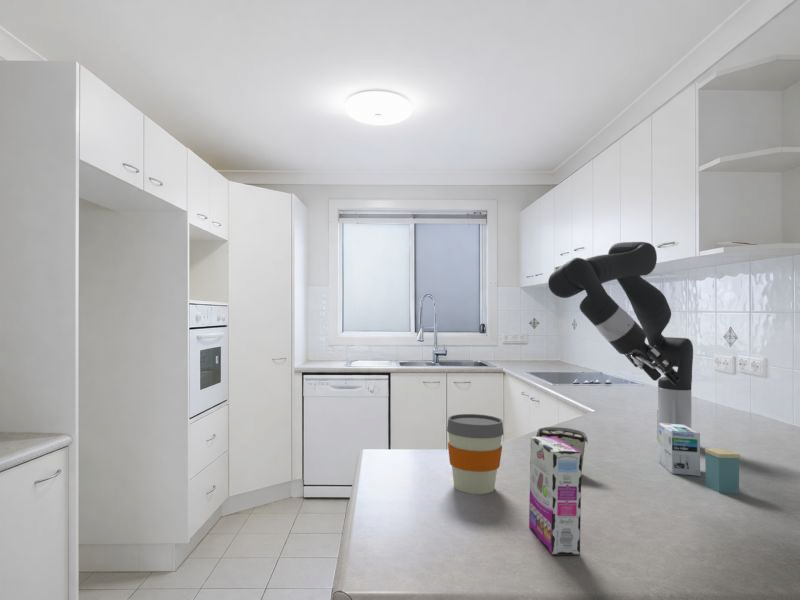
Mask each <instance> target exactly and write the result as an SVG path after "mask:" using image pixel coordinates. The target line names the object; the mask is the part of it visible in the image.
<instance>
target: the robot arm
mask: <svg viewBox="0 0 800 600" xmlns="http://www.w3.org/2000/svg"><path fill="white" fill-rule="evenodd" d="M657 256H658V255H657V250H656V248H655V246H654V245H652V244H651V243H649V242H647V241H628V242H627V241H626V242H625V241H624V242H617V243H614V244H612V245H611V246H610V247H609V250H608V253H607V254H601V255H599V254H598V255H595V256H590V257H587V258H585V259H584V258H581V257H573V258H571V259H570V260H568V261H567V262H565V263H564V264H563V265H561V266H559V267H558V268H557V269H556V270H554V271H553V272H552V273H551V274H550V275H549V277H548V282H547V283H548V288H549V291H550V292H551V293H552V294H553V296H556V297H558V298H561V299H567V298H572V297H573V296H575V295H577V294H579V293H581V292H583V291H585V292H586V296H585V297H584V298H583V299H582V300H581V302H580V303H579V310H580V312H582V314H583V315H584V316H585V317H586V319H588V321H589V322H590V323H592V325H593V326H594V327H595V328H596V330H597V331H598V332H599V333H600V335H601V336H602V337H603V338H604V339H605V340H606V341H607V342H608V343H609V344H610V345H611V346H612V348H613V349H615V350H616V352H617V353H618V354H620V355H624V356H625V357H626V359H627V360H629V362H630V363H631V364H632V365H633V367H635V368H639V369H640V370H641V371H644V372H645V373H646V374H647V376H648V377H649V378H650V379H651V380H653V381H657V402H658V403H657V411H656V413H657V414H656V439H657V441H658V443H659V423H667V424H681V425H685V426H687V427H689V428H691V429H692V426H693V425H692V409H693V408H692V403H693V402H692V383H693V365H694V364H693V362H694V346H693V342H692V340H691V339H690V338H686V337H670V336H669V337H667V336H664V335H663V334H662V333H663V332H664V330H665V329H666V328H667V326H668V324H669V323H670V320H671V317H672V309H671V307H670V305H669V302H668V300H667V298H666V296H665V294H664V293H663V292H662V291H661V290H659V289H658V288H657V287H656V286H654V285H653V284H651V283H650V282H649V281H647V280H646V279H644V278H643V277H642V276H647V275H649V274H651V273H652V272H654V270H655V268H656V265H657V260H658V258H657ZM613 280H617V282H618V284H619V285H620V286H621V289H622V290H623V291H624V293H625V295H626V298H627V299H628V301H629V303H630V305H631V307H632V310H633V313H634V314H635V316H636V318H637V321H638V323H637V321H635V319H634V318H633V317H632V316H631V315H630V314H629V313H628V312H627V311H626V310H625V309H623V308H622V307H621V306H620V305H619V304H618V303H617V302H616V301H615V300H614V299H613V298H612V297H611V296H610V295H609V294H608V293H607V291H606V289H605V288H604V286H603V284H605V283H607V282H611V281H613ZM639 324H640V325H639ZM646 340H647V343H648V344H647V343H646ZM674 367H677V370H675V369H674ZM660 372H661V373H662V374H663V375H664V376H663V377H661V376H662V374H661V373H660Z"/></svg>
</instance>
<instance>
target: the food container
mask: <svg viewBox="0 0 800 600" xmlns="http://www.w3.org/2000/svg"><path fill="white" fill-rule="evenodd" d="M535 437H556V438H557V439H559V440H561V441H562V442H564V443H566V444H568V445H569V446H571V447H573V448H575V449H576V450H578V451H580V452H582V467H581V474H582V472H583V465H584V462H583V461H584V457H585V456H584V455H585V454H584V453H585V447H586V446H585V445H586V443H587V445H588V444H589V443H588V442H589V441H588V437H587V434H586V432H584V431H581V430H578V429H574V428H568V427H560V426H558V427H557V426H547V427H540V428H538V430H537V432H536V435H535Z"/></svg>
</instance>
